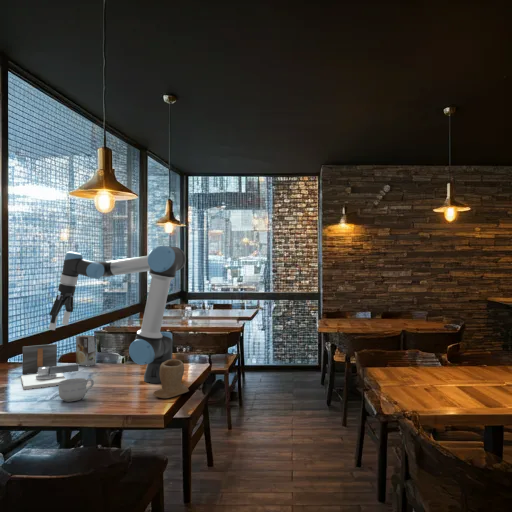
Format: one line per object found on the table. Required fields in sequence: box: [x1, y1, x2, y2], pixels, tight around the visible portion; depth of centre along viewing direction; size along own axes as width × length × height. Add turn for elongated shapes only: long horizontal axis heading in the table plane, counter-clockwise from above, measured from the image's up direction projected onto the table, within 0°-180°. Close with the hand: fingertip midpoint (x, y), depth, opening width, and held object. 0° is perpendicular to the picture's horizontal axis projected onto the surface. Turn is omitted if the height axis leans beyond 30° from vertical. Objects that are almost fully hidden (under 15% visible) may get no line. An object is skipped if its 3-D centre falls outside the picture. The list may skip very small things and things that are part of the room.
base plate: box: [20, 373, 67, 390], centre depth 217 cm, size 25×18×2 cm
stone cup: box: [153, 358, 190, 399], centre depth 191 cm, size 15×12×15 cm
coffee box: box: [75, 334, 97, 367], centre depth 255 cm, size 9×6×16 cm
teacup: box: [58, 377, 95, 403], centre depth 186 cm, size 14×11×8 cm
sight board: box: [21, 343, 58, 375], centre depth 235 cm, size 2×16×14 cm, turn 120°
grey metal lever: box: [36, 363, 79, 380], centre depth 220 cm, size 19×9×5 cm, turn 120°
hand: (58, 327), depth 218 cm, fingers open, 13 cm apart
